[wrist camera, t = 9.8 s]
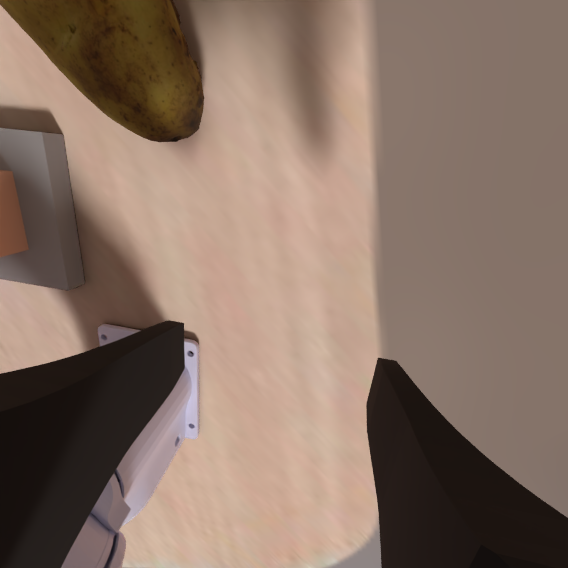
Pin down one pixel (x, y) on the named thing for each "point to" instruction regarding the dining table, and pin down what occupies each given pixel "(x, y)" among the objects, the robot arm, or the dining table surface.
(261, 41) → the dining table surface
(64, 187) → the slate board
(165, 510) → the dining table surface
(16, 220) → the terracotta block
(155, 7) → the potato
